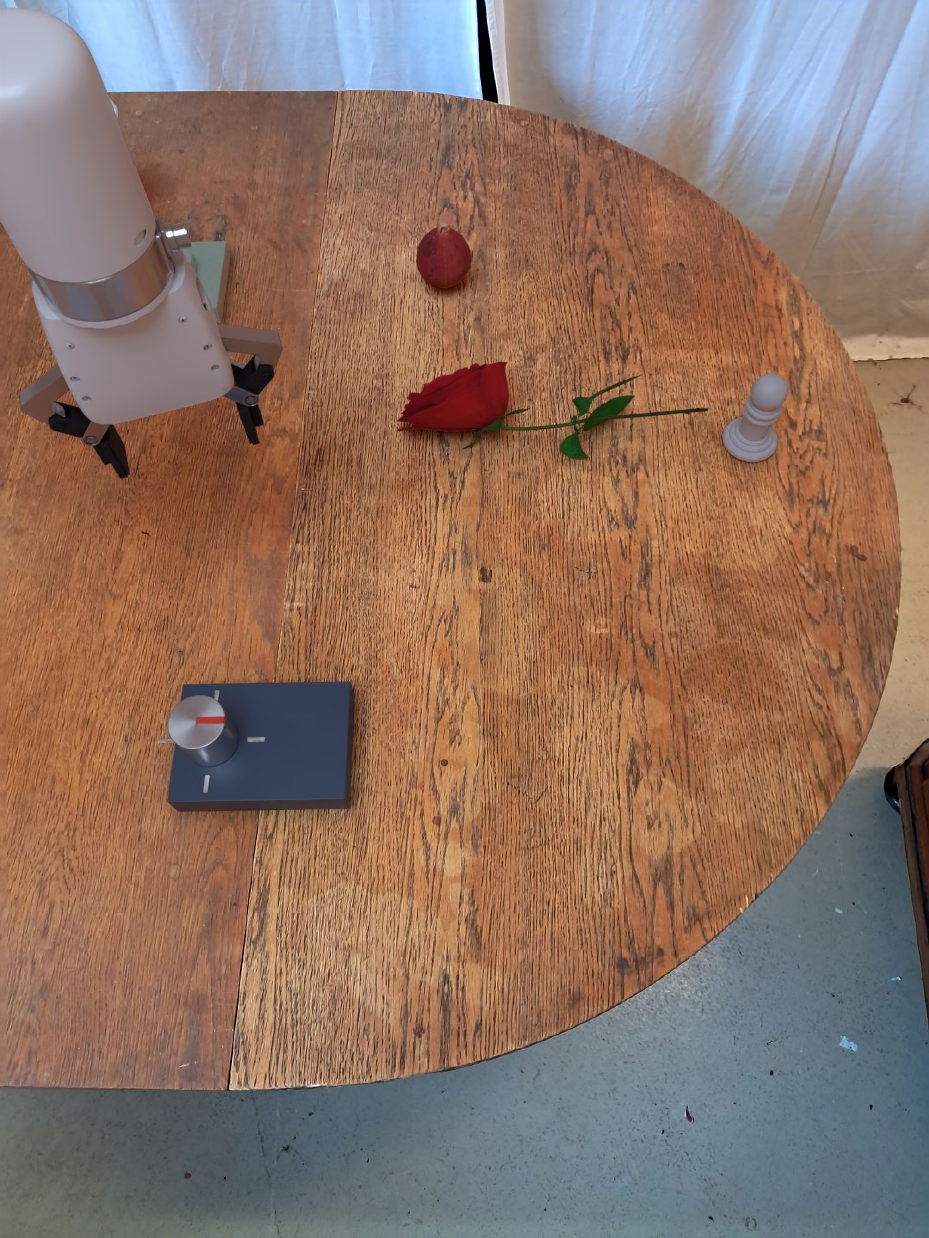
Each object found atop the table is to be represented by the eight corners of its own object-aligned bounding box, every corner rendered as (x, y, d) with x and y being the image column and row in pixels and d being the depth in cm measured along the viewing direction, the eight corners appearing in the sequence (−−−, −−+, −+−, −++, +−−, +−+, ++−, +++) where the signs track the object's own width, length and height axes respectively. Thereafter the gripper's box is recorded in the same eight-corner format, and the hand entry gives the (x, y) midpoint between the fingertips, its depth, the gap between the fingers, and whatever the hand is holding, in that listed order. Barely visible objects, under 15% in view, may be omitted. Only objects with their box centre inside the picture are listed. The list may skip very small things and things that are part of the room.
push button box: (110, 325, 96) (96, 297, 93) (124, 258, 101) (111, 229, 97) (221, 323, 96) (212, 295, 93) (231, 257, 101) (222, 227, 97)
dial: (181, 767, 71) (162, 748, 67) (187, 715, 73) (170, 693, 69) (236, 766, 71) (221, 747, 67) (241, 714, 73) (227, 692, 69)
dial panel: (162, 812, 73) (149, 801, 70) (177, 697, 77) (166, 683, 74) (349, 808, 73) (344, 798, 70) (354, 694, 77) (350, 680, 74)
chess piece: (714, 453, 88) (738, 392, 80) (730, 414, 90) (755, 350, 82) (766, 471, 87) (796, 411, 79) (782, 431, 89) (812, 369, 81)
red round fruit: (430, 311, 97) (427, 251, 90) (410, 276, 99) (405, 215, 92) (479, 295, 98) (480, 234, 91) (458, 260, 100) (456, 198, 93)
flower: (715, 335, 80) (383, 354, 82) (718, 442, 80) (387, 457, 83) (698, 361, 89) (399, 377, 92) (700, 457, 89) (402, 470, 92)
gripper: (237, 186, 54) (291, 381, 69) (-58, 251, 52) (65, 436, 67) (262, 272, 51) (313, 456, 66) (-51, 344, 48) (76, 517, 64)
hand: (188, 446), depth 66 cm, fingers open, 9 cm apart
